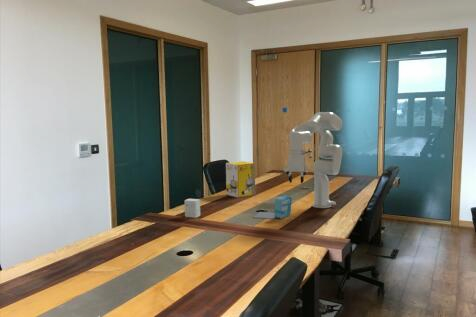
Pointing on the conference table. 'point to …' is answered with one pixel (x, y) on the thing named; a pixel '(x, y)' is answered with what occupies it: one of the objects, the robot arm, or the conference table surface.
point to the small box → (192, 208)
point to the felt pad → (265, 215)
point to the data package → (282, 207)
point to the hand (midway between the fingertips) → (296, 182)
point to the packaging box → (240, 179)
